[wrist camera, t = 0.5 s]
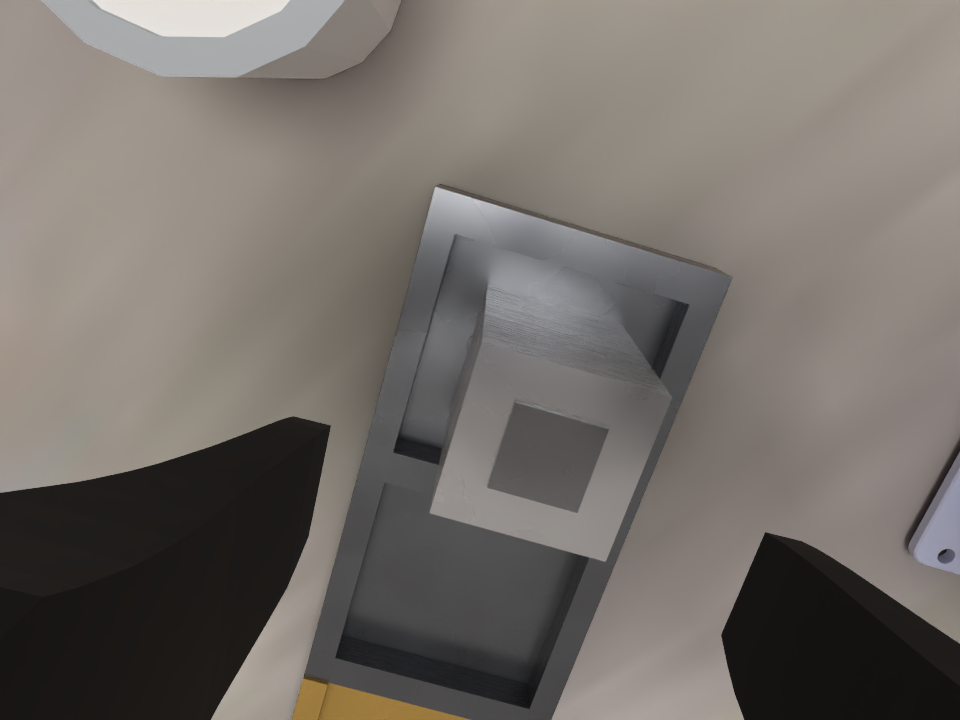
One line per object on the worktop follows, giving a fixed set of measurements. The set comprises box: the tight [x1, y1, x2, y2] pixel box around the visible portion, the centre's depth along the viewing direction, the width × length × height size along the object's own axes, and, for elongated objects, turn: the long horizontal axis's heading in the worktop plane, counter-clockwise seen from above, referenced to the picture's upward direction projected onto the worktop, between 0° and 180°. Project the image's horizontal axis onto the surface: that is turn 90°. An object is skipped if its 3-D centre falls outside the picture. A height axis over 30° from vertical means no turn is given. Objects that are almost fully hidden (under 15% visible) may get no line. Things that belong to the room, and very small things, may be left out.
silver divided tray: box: [292, 184, 733, 720], centre depth 22 cm, size 8×24×2 cm, turn 163°
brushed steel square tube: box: [429, 285, 672, 562], centre depth 17 cm, size 4×4×6 cm
